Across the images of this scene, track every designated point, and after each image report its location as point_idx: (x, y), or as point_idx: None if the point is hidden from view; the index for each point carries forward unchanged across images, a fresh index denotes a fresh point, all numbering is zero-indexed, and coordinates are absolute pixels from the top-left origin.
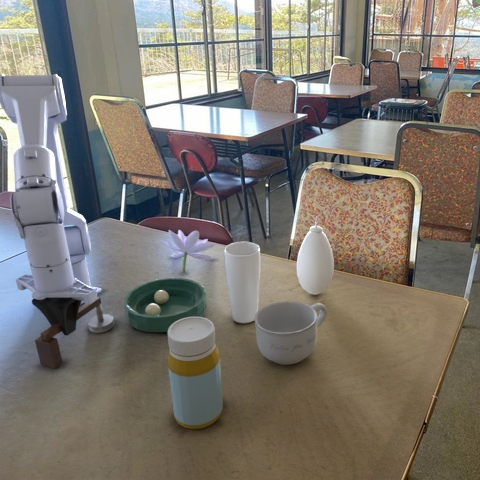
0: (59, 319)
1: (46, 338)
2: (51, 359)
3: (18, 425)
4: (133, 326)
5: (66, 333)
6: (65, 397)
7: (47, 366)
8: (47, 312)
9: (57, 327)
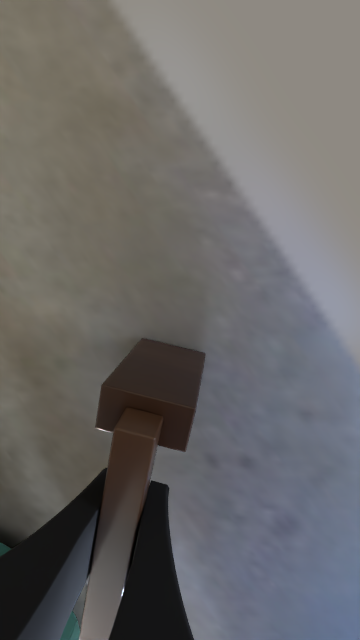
0: (57, 543)
1: (124, 415)
2: (138, 352)
3: (77, 29)
4: (8, 549)
5: (98, 475)
6: (18, 202)
7: (176, 346)
8: (120, 607)
9: (103, 495)
